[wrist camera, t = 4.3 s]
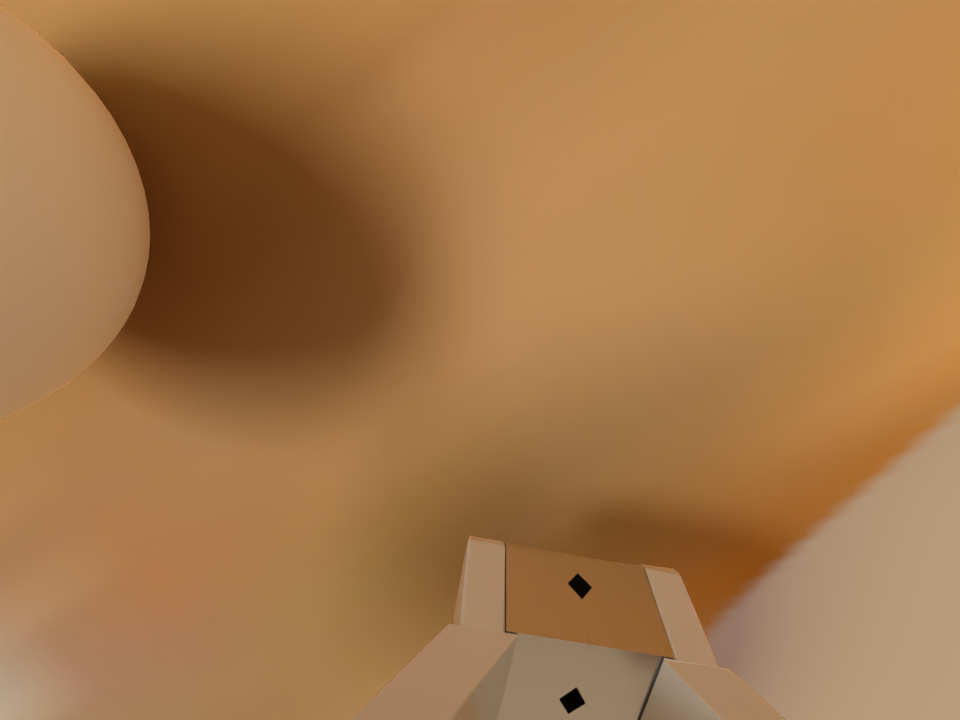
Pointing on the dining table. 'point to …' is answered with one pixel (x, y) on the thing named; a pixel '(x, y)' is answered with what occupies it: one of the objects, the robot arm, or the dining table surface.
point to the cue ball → (60, 221)
